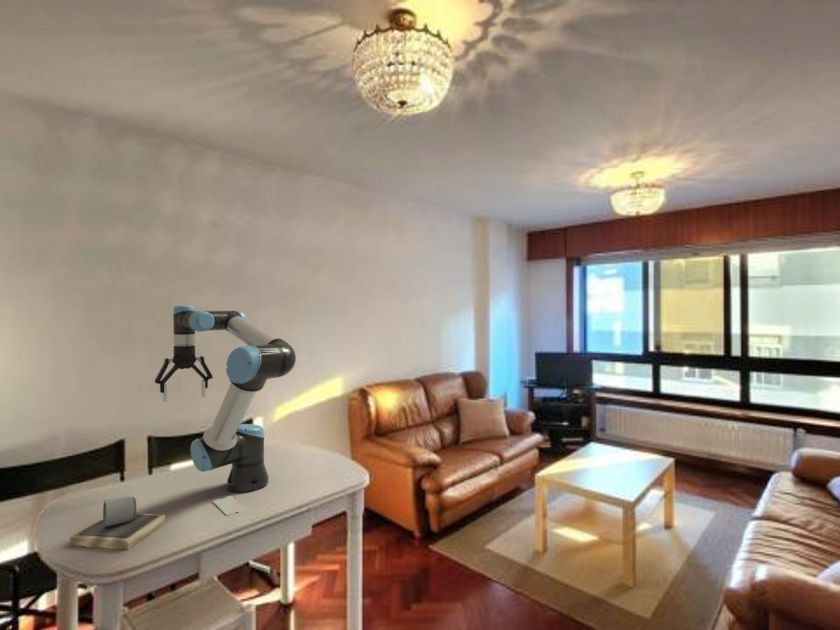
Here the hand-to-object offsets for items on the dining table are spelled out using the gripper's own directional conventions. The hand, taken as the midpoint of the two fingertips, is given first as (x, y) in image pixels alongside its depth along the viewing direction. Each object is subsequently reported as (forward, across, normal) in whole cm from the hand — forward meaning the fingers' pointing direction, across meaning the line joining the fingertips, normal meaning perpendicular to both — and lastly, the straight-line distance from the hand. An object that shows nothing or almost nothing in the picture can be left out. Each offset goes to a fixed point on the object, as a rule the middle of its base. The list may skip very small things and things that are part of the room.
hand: (184, 399), depth 176 cm
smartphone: (+33, -7, +32) cm, 47 cm away
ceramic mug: (+30, +25, +29) cm, 49 cm away
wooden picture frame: (+33, +25, +32) cm, 52 cm away
